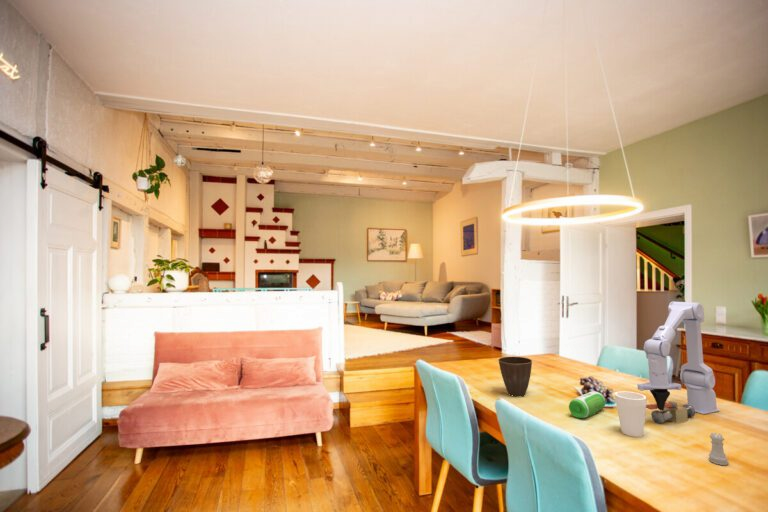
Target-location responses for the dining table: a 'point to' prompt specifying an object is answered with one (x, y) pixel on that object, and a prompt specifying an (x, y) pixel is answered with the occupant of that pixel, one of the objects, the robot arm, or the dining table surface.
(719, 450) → the rook chess piece
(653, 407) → the lever
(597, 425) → the dining table surface
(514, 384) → the plant pot
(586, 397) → the speaker
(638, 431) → the foam cup
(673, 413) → the valve body
